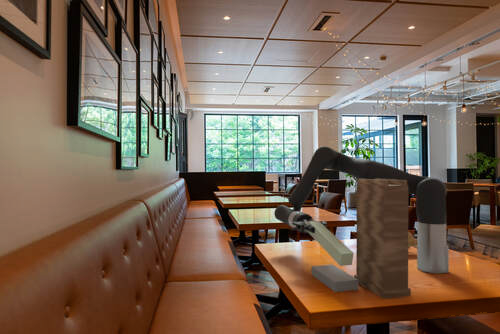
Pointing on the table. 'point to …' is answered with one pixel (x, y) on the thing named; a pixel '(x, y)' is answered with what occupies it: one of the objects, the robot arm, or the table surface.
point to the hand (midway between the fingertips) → (320, 229)
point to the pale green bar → (331, 244)
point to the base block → (334, 278)
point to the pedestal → (382, 237)
